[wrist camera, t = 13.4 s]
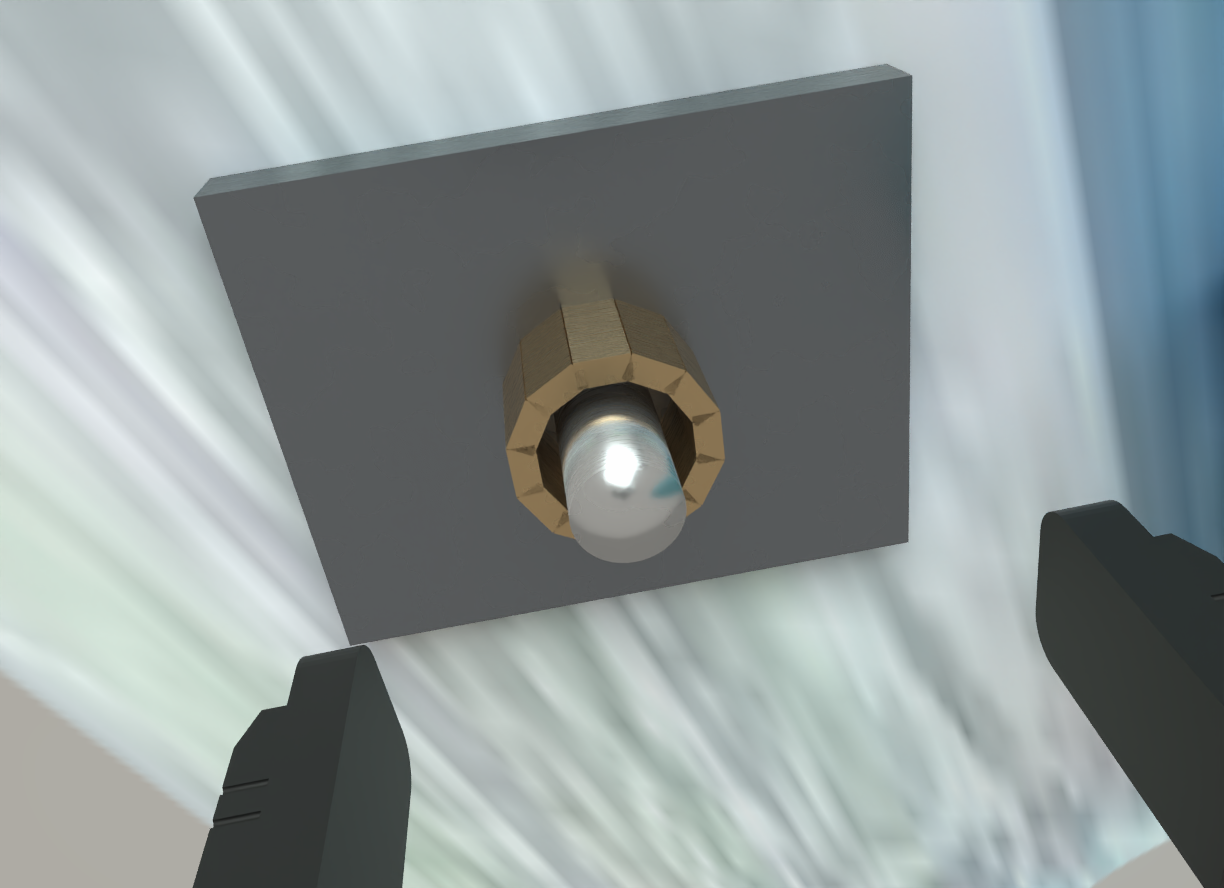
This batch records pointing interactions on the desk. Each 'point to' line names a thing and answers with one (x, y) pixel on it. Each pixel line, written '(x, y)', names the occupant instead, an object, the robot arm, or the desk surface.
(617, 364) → the bronze ring
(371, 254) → the piston stand
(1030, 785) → the desk surface
